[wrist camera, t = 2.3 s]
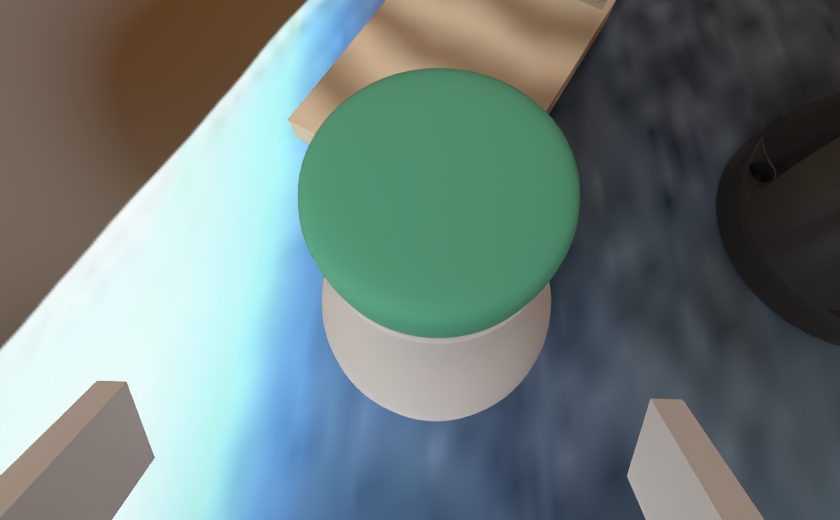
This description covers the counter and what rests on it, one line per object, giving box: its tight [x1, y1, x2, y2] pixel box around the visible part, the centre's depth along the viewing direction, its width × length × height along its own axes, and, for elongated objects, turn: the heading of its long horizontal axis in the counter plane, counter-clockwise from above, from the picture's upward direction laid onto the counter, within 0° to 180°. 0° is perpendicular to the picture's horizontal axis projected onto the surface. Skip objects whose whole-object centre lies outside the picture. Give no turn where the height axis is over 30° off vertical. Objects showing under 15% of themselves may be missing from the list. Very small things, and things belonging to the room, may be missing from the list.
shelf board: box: [288, 0, 616, 144], centre depth 31 cm, size 20×14×2 cm
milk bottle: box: [298, 68, 580, 421], centre depth 16 cm, size 8×8×20 cm
